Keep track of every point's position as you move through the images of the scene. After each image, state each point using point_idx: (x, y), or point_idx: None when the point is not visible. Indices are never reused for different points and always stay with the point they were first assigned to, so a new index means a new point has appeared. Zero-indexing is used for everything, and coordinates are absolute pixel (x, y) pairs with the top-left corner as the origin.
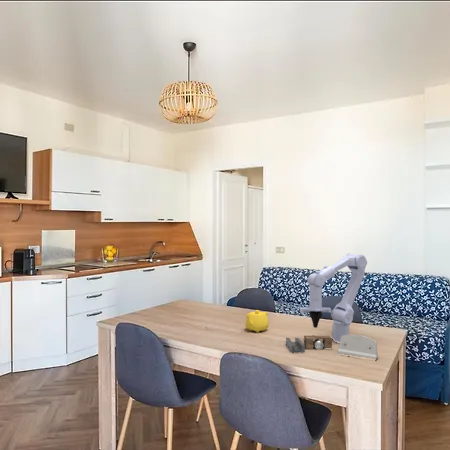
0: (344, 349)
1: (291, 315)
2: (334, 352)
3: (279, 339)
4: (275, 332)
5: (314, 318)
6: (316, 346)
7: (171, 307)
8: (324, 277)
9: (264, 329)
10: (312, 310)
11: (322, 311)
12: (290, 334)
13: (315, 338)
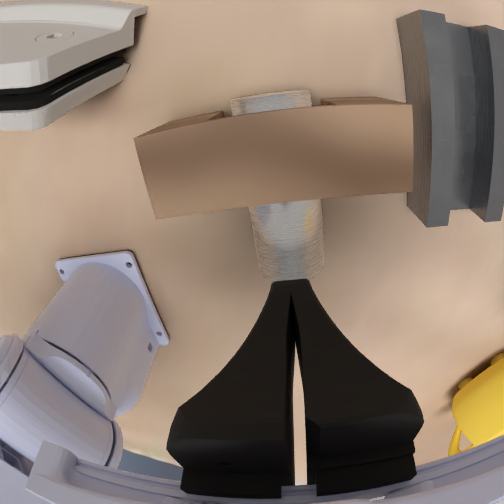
0: (82, 24)
1: (295, 484)
2: (159, 51)
3: (471, 286)
4: (436, 374)
5: (335, 359)
6: (297, 90)
7: None
8: None
9: (477, 376)
10: (425, 497)
11: (162, 488)
12: (381, 366)
13: (314, 107)
